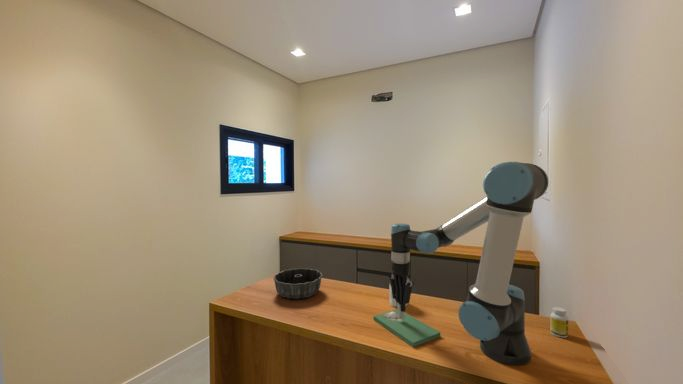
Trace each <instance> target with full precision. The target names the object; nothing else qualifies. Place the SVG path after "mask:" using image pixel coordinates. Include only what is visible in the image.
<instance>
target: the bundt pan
mask: <svg viewBox="0 0 683 384" xmlns="http://www.w3.org/2000/svg"><path fill="white" fill-rule="evenodd" d="M322 278H323V273H322V272H321V271H319V270H318V269H312V268H302V267H301V268H292V269H286V270H285V269H284V270H282V271H279V272H277V274H275V275H274V276H273V281H274V285H275V290H276V292H277V294H278V295H280V296H281V297H283V298H287V300H291V299H294V300H297V299H298V300H299V299H302V300H303V299H305V298H310V297H312V296H314V295H316V294H317V293H318V291H319V290H320V288H321V283H322V282H321V281H322Z"/></svg>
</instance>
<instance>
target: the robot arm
mask: <svg viewBox="0 0 683 384" xmlns="http://www.w3.org/2000/svg"><path fill="white" fill-rule="evenodd" d="M482 188H483V192H484V193H485V195H486V196H484V197H483V198H481V199H480V200H478V201H477V202H475V203H474V204H472V205H470V206H469V207H468V208H466V209H464V210H463V211H461V212H460V213H458V214H456V215H455V216H454V217H452V218H451V219H449V220H447V221H446V222H445V223H442V224H441V225H440V226H438V227H436V228H433V229H428V230H422V231H418V230H411V226H410V224H408V223H394V224H392V225H391V228H390V229H391V231H390V241H391V244H390V245H391V249H390V250H391V253H390V254H391V256H390V257H391V271H392V273H391V274H389V275H388V278H389V283H390V282H391V289H392V295H393V299H395V300H396V305H397V307H396V309H397V318H398V319H399V320H400V319H403V318H405V313H406V306H405V304H407V303H408V304H410V301H411V295H412V290H413V286H414V284H415V282H414V281H411V279H410V275H409V273H410V271H411V262H410V261H411V251H415V252H420V253H423V254H434V253H435V252H436V251H437V250H438V249H439V248H442V247H447V246H450V245H452V244H453V243H454V242H455V241H457V240H458V239H459V238H462V237H463V236H465V235H466V234H468V233H470V232H471V231H473V230H476V229H477V228H479V227H481V226H482V225H484V224H486V223H487V226H486V231H485V237H484V239H483V240H484V241H483V246H482V251H481V255H480V260H479V266H478V270H477V275H476V280H475V283H474V284H472V285H470V286H469V287H468V293H467V298H466V300H465V301H464V302H462V303H461V305H460V306H459V308H458V319H459V322H460V324H461V325H462V326H463V329H464V330H465V331H466V332H467V333H468V335H471V337H473V338H474V339H477V340H479V348H480V349H481V350H480V351H481V352H483V353H484V355H486V356H487V357H489V358H490V359H492V360H494V361H496V362H499V363H501V364H506V365H512V366H525V365H527V364H529V363H530V362H531V360H532V351H531V348H530V345H529V342H528V339H527V337H526V334H525V333H526V332H525V326H526V325H525V323H526V322H525V317H526V316H525V315H526V313H525V312H526V311H525V306H526V305H525V303H526V302H525V301H526V298H525V292H524V290H523V289H522V288H521V287H518V286H515V285H513V284H510V280H511V276H512V272H513V267H514V263H515V257H516V252H517V249H518V246H519V245H518V244H519V239H520V235H521V231H522V226H523V222H524V218H525V217H526V216H529V215H530V214H532V211H533V206H534V203H535V202H534V201H535V200H538V199H539V198H541V197H542V196H543V195H544V194H545V193H546V192H547V190H548V188H549V177H548V175H547V172H546V171H545V170H544V169H543V168H542V167H540V166H538V165H537V164H534V163H526V162H518V161H506V162H501V163H498V164H496V165H494V166H493V167H492V168H491V167H490V169H489V170H488V171H487V173H486V174H485V176H484V179H483V184H482Z"/></svg>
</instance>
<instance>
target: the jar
mask: <svg viewBox="0 0 683 384" xmlns="http://www.w3.org/2000/svg"><path fill="white" fill-rule="evenodd" d="M388 287H389V289H388V290H389V291H388V293H389V294H388V295H389V297H388V298H389V300H388V301H389V304H390V305H391V307H395V308H397V305H396V300H395V299H393V295H392V289H391V282H390V281H389V286H388ZM408 304H409V303H407V304H405V307H408Z"/></svg>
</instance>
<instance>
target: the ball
mask: <svg viewBox="0 0 683 384" xmlns="http://www.w3.org/2000/svg"><path fill="white" fill-rule="evenodd" d="M389 318H390V319H397V314H396V313H395V312H390V313H389Z"/></svg>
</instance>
